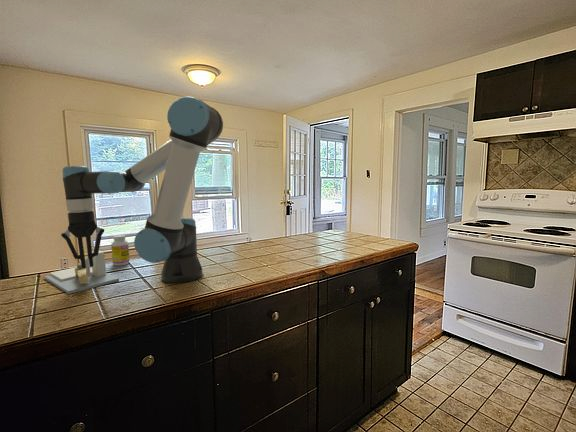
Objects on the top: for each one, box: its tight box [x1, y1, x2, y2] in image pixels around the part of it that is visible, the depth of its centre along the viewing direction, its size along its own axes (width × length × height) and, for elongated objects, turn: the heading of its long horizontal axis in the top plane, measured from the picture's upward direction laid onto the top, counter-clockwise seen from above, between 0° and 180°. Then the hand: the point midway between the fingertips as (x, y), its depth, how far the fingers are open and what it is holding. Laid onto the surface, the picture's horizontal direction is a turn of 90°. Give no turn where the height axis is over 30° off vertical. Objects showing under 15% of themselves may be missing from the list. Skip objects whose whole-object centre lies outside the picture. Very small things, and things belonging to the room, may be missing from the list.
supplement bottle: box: [111, 234, 130, 267], centre depth 134 cm, size 7×7×13 cm
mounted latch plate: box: [43, 250, 120, 295], centre depth 113 cm, size 26×16×10 cm, turn 53°
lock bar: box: [74, 267, 88, 284], centre depth 109 cm, size 14×4×3 cm, turn 37°
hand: (88, 276), depth 108 cm, fingers closed
